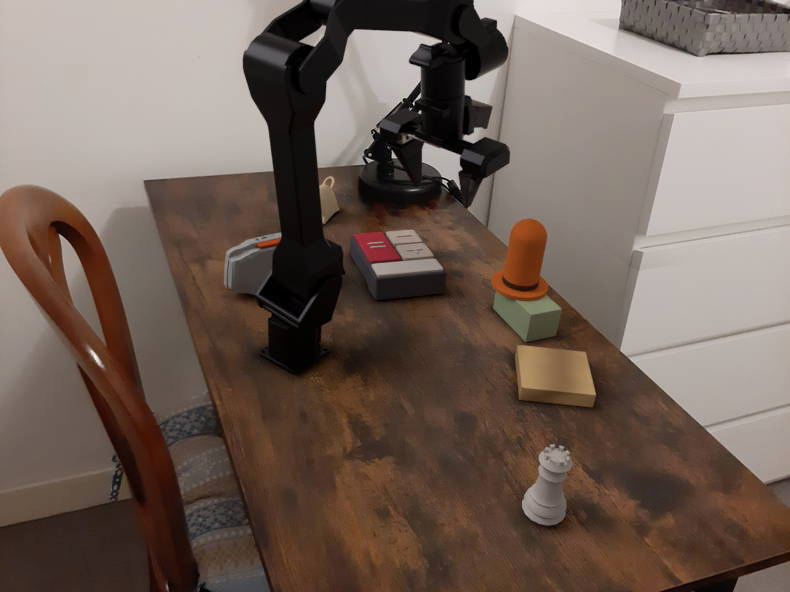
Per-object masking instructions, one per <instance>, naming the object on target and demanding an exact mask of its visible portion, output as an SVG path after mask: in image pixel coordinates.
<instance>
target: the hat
mask: <svg viewBox="0 0 790 592" xmlns="http://www.w3.org/2000/svg"><path fill="white" fill-rule="evenodd" d="M547 242H548V232H547V229H546V227H545V226H544V224H543V223H542V222H541V221H539V220H537V219H534V218H523V219H521V220H519V221H517V222H516V223H514V225H513V226H512V228H511V230H510V232H509V238H508V245H507V250H506V256H505V262H504V268H503V269H501V270H498V271H496V272H495V273H493V275H492V277H491V284H490V285H491V287H492V288H493V290H494V291H495V292H496V291H497V292H498V293H499V294H501V295H503V296H505V297H508V298H511V299H514V300H520V301H533V300H538V299H541V298H543V297H544V296H545V295H548V292H549V283H548V282H547V280H546V279H545V278H544V277H543V276H541V272H542V267H543V262H544V257H545V252H546V246H547Z"/></svg>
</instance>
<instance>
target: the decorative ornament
mask: <svg viewBox="0 0 790 592" xmlns="http://www.w3.org/2000/svg"><path fill="white" fill-rule="evenodd" d="M330 180H331V184H330V185H327V183H328V181H330ZM335 184H336V180H335V177H334V176H332V175H331V176H330V175H329V176H327V177H325V179H324V180H323V182H322V184H319V187H320V198H321V210H322V222H323V225H325V224H326V223H327V222H328V221H329V219H331V217H332V216H333V215H334V214H335V213H337V212H338V211H340V207H339V205H338V200H337V197H336V195H335V192H334V187H335Z"/></svg>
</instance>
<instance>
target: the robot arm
mask: <svg viewBox="0 0 790 592" xmlns="http://www.w3.org/2000/svg"><path fill="white" fill-rule="evenodd" d="M323 26H325V30H324V33H323V36H322V38H321V39H320V40H319V41H318V42H317V44H316V45H315V46H314V45H311V44H308V43H305V42H302V40H304V39H306V38H307V37H309V36H311V35H313V34H314V33H316V32H317V31H319V30H320V29H321V28H322V27H323ZM355 30H357V31H358V30H359V31H361V30H362V31H383V32H408V33H414V34H417V35H420V36H422V37H427V38H430V39H434V40H437V41H439V42H435V43H433V44H431V45H429V44H425V43H420V44H419V45H418V48H417V49H416V50H415V51H413V53H412V54H411V56H410V57H409V59H408V64H410V65H412V66H416V67H420V98H418V99H416V100H415V101H414V109H415V110H418V111H420V112H417V111H414V110H411V109H409V108H406V107H405V108H402V109H399V110H398V111H396V112H394V113H392V114H389V115H388V116H386V117H384V118H383V119H382V120H381V121H380V124H379V126H378V128H379V139H380V140H381V141H384V142H386V144H385V145H386V147H388V148H389V149H390V150H391V151H392V153H393V154H394V156H395V157H396V158H397V159H398V161H399V163H400V165H401V166H402V168H403V169H404V171H405V173H406V175H407V177H408V178H409V180H410V182H411V184H412V186H413V187H414V188H418V187H420V186H421V184H422V179H423V178H422V177H423V147H424V145H425V144H427V145H430V146H432V147H435V148H437V149H443V150H445V151H448V152H450V153H452V154H453V153H454V154H456V155H459V156H460V157H459V167H460V168H461V170H459V171H458V172H457V174H458V181H459V188H460V195H461V202H462V206H463V208H464V209H468V208H470V207H471V206H472V204H473V202H474V200H475V198H476V196H477V193H478V191H479V188H480V187H481V184H482V182H483V181H484V179H487V178H488V177H490V176H491V175H493V174H494V173H496V172H498V171H500V170H501V169H503V168H504V167H506V166H507V165H509V164H510V163H511V148H510V147H509V146H508V144H506V143H504V142H501V141H498V140H495V139H493V138H490V137H487V136H483V137H482V138H480V139H478V140H477V141H475V142H471V141H468V140H466V139H465V138H464V137H465V136H471V135H472V134H475V129H480V128H481V129H483V130H487V129H488V127H489V123H490V120H491V115H492V112H493V108H494V106H493V105H491V104H488V103H485V102H482V101H479V100H476V99H472V96H471V95H468V94H466V81H469V82H471V81H475V80H477V79H479V78H481V77H483V76H485V75H487V74H489V73H491V72H493V71H495V70H496V69H498V68H499V69H500V67H502V66H503V65H504V64H505V63H507V60H508V58H509V46H508V43H507V40H506V38H505V36H504V35H503V33H502V32H501V30H499V29H498V20H497V19H493V18H490V17H483V18H481V17H480V15H479V14H478V12H477V10H476V8H475V0H302V1H301V2H299V3H298V4H296V5H295V6H292V7H291V8H289V9H288V10H286V11H285V12H283V13H281V14H280V15H278V16H276V17H275V18H273V19H272V20H271V21H270V22H269V23H268V25H267V26H266V27H265V28H264V29H263V31H261V32H260V34H258V35H256V36H255V37H254V38H253V39H252V41H250V43H249V45H248V47H247V48H246V50H244V51H243V54H242V70H243V71H242V72H243V75H244V79H245V81H246V85H247V89H248V91H249V95H250V98H251V99H252V101H253V103H254V105H255V106H256V108H257V109H258V111H259V113H260V114H261V116H262V118H263V119H264V121H265V123H266V125H267V130H268V138H269V147H270V153H271V154H270V155H271V162H272V170H273V180H274V188H275V195H276V203H277V211H278V212H277V213H278V218H279V227H280V232H281V239H280V241H279V243H278V244H277V246H276V248H275V250H274V251H273V255H272V269H271V271H270V272H269V274H268V275H267V277H266V278H265V280H264V281H263V283H262V284H261V286H260V287H259V289H258V290H257V292H256V293H255V295H254V299H255V301H256V304H257V306H258V307H259V308H261V309H263V310H265V311H267V312H268V313H270V315H271V316H270V317H268V318H267V342H268V345H267V346H266V347H264V348H262V349H261V350H259V356H261V357H262V358H263V359H266V360H267V361H269V362H270V363H272V364H274V365H276V366H278V367H280V368H281V369H283V370H285V371H287V372H289V373H291V374H293V375H299V374H300V373H302V372H304V371H305V370H307V369H308V368H309V367H311V366H313V365H314V364H315V363H316V362H318V361H320V360H321V359H322V358H324V357H326V356H327V355H329V353H330V349H329V348H328V347H326V346H324V345H322V344H321V343H322V326H324V325H326V324H328V323H330V322H331V321H332V319H333V316H334V313H335V311H336V306H337V303H338V300H339V296H340V293H341V290H342V288H343V287H342V286H343V276H345V275H347V273H346V271H345V268H344V249H343V247H342V245H340V244H339V243H336V242H335V241H332V240H331V239H328V237H325V234H324V233H325V232H324V224H323V222H322V210H321V198H320V187H319V185H320V175H319V165H318V154H317V151H318V150H317V142H316V141H317V140H316V130H315V122H316V120H317V118H318V117H319V115H320V113H321V110H322V109H323V107H324V105H325V103H326V101H327V100H326V99H327V87H328V85H327V84H328V80H329V79H330V78H331V77H332V76H333V74H334V73H335V72H336V71H337V70H338V68H339V67H340V66H341V65H342V64H343V62H344V59H345V58H344V57H345V53H346V49H347V45H348V39H349V37H350V36H351V35H352V34H353V33H354V31H355Z"/></svg>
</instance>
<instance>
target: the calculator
mask: <svg viewBox="0 0 790 592" xmlns="http://www.w3.org/2000/svg"><path fill="white" fill-rule="evenodd" d="M349 254H350V256H351V257H352V259H353V262H354V263H355V265H356V266H357V268H358V270H359V272H360V273H361V275H362V276H363V279H364V280H365V282H366V285H367V289H368V291H369V293H370V294H371V296H372V297H373V299H374V300H375V301H381V300H393V299H401V298H412V297H423V296H432V295H433V296H434V295H442V294H445V293H446V286H447V277H448V276H447V275H448V271H447V270H446V268H445V267H444V266H443V265H442V264H441V262H440V261H439V260H438V259H437V257H436V256H435V254H434V253H433V252H432V251H431V250H430V249H429V247H428V246H427V245H426V243H425V242H424V241H423V240H422V238H421V237H420V236H419V234H418V233H417V232H416V231H415V230H414V229H402V230H400V229H399V230H390V231H389V230H388V231H387V230H386V231H385V233H383V231H376V232H362V233H354V234H353V235H352V236H351V235H350V238H349Z"/></svg>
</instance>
